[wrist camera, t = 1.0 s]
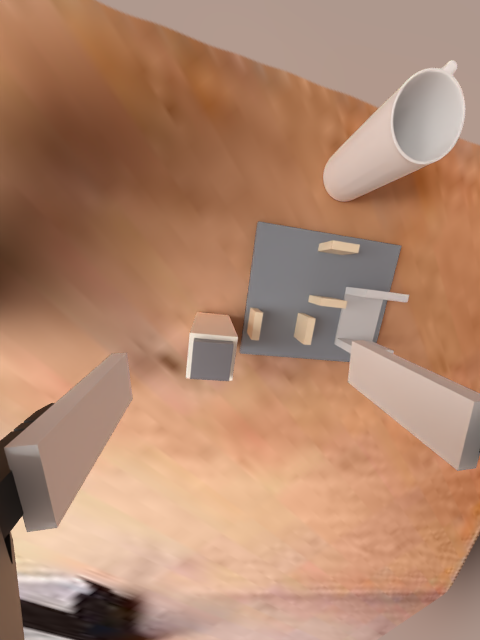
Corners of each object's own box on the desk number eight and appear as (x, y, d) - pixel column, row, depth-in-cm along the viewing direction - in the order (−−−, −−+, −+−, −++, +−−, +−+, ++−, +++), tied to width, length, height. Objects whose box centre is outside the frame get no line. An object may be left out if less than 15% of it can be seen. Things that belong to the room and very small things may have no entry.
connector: (193, 342, 32) (184, 383, 21) (196, 311, 31) (188, 335, 20) (225, 345, 33) (233, 385, 21) (228, 315, 32) (239, 340, 21)
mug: (349, 214, 31) (431, 181, 20) (311, 185, 30) (375, 131, 18) (391, 144, 30) (506, 65, 18) (353, 111, 29) (451, 2, 17)
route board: (239, 351, 33) (245, 366, 28) (257, 222, 30) (267, 212, 25) (367, 361, 37) (393, 376, 32) (397, 246, 33) (431, 241, 28)
